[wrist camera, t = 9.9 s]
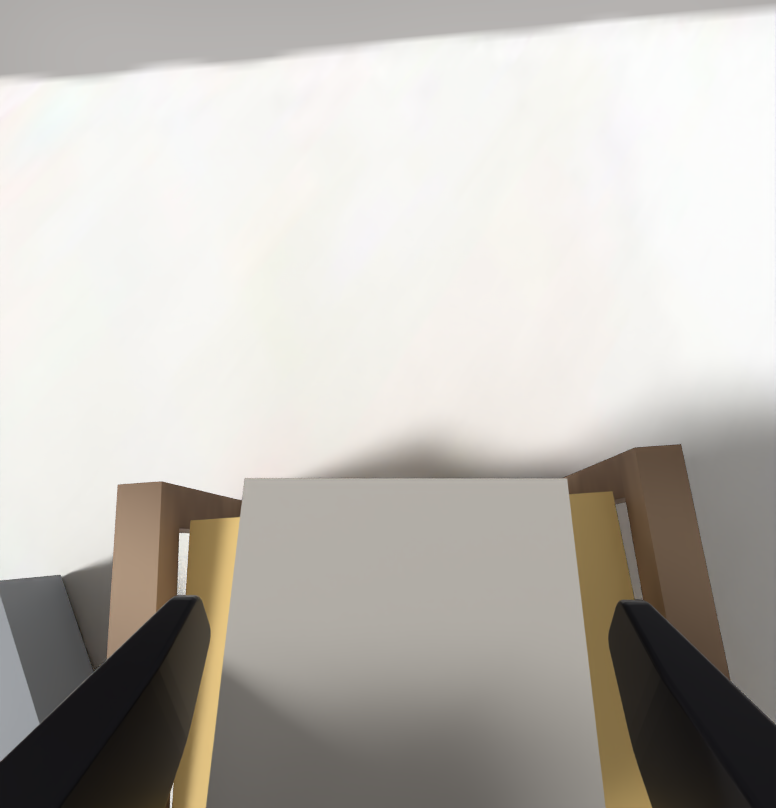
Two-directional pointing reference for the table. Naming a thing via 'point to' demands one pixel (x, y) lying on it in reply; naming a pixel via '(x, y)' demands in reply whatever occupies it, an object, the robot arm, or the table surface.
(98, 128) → the table surface
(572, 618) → the grey upright block
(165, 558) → the frame
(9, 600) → the plinth
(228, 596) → the trapdoor
